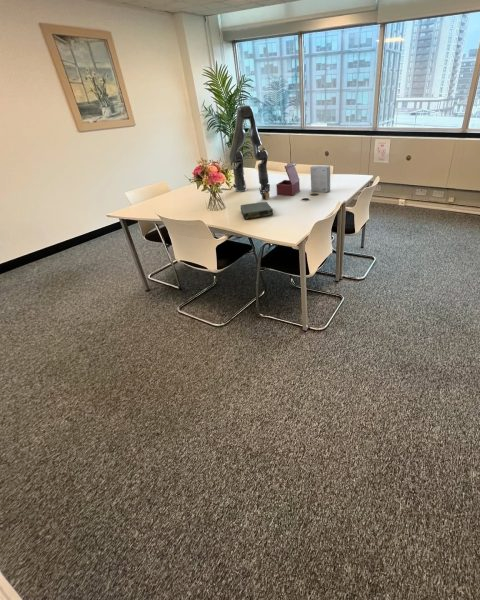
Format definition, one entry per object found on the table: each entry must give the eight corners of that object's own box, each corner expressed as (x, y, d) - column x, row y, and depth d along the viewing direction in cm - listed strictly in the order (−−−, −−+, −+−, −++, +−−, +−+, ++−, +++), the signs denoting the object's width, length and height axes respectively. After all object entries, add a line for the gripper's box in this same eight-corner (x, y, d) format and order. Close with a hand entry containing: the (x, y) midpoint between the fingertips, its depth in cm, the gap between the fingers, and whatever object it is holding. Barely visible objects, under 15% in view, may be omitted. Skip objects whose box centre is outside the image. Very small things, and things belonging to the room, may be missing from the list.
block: (262, 199, 263) (261, 193, 261) (264, 197, 267) (264, 192, 264) (266, 199, 262) (266, 194, 259) (269, 198, 265) (268, 192, 263)
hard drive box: (330, 190, 276) (330, 165, 265) (327, 192, 270) (327, 167, 259) (314, 188, 282) (313, 165, 271) (310, 191, 276) (310, 167, 265)
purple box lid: (284, 166, 256) (289, 164, 253) (292, 162, 267) (297, 160, 264) (291, 185, 262) (296, 182, 259) (298, 180, 273) (304, 178, 270)
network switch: (245, 221, 221) (244, 214, 219) (237, 211, 239) (236, 205, 237) (276, 215, 229) (276, 208, 226) (266, 206, 247) (265, 200, 244)
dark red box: (277, 194, 272) (276, 184, 267) (285, 190, 284) (284, 179, 279) (292, 196, 267) (291, 185, 262) (299, 191, 278) (299, 180, 273)
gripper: (263, 174, 261) (266, 195, 271) (254, 179, 251) (257, 200, 260) (271, 175, 259) (273, 196, 268) (263, 179, 248) (265, 201, 258)
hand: (265, 198), depth 264 cm, fingers closed on block, 4 cm apart
